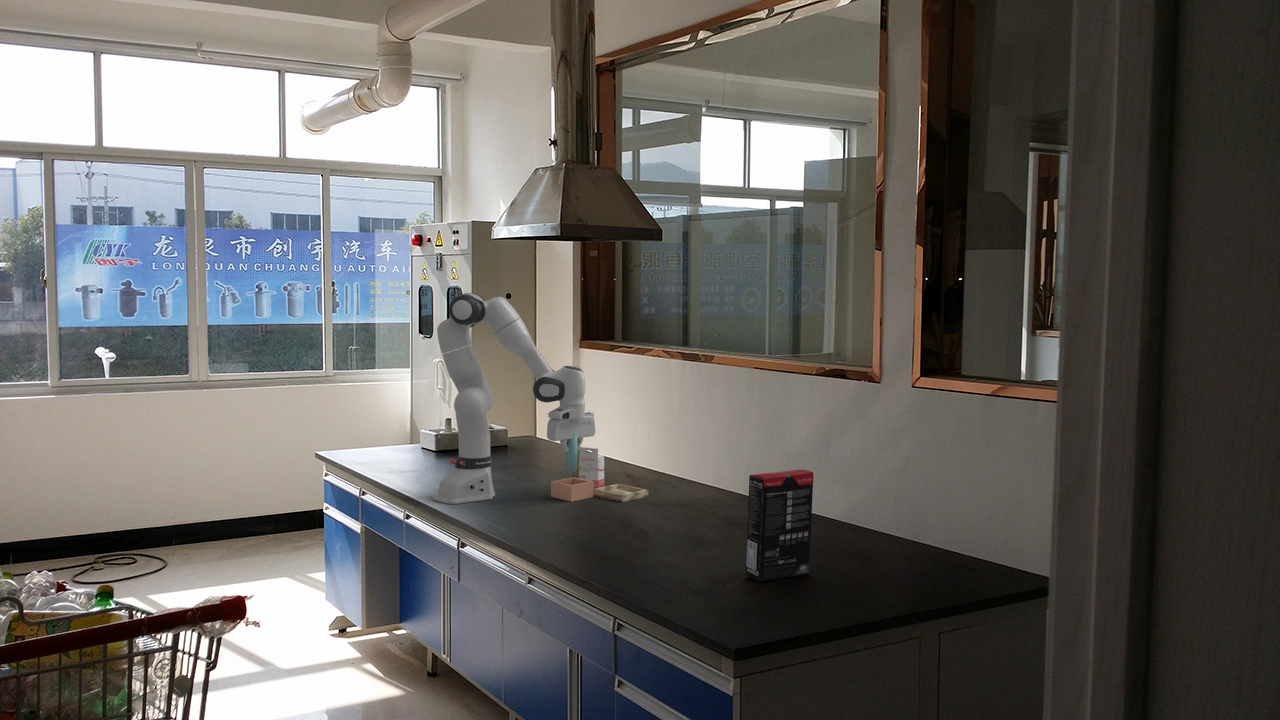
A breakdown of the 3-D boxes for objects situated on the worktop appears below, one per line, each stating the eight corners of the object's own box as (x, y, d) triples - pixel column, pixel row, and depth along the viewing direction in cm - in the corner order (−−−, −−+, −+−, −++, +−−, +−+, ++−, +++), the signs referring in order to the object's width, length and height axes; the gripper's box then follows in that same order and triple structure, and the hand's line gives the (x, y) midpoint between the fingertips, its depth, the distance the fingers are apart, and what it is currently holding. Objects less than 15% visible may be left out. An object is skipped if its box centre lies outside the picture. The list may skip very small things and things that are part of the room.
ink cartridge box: (604, 485, 370) (605, 446, 369) (598, 488, 365) (598, 448, 364) (585, 483, 374) (585, 445, 373) (578, 486, 369) (578, 446, 368)
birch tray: (622, 502, 342) (622, 495, 342) (592, 495, 353) (592, 488, 352) (648, 496, 352) (648, 489, 352) (618, 490, 362) (618, 483, 362)
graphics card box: (795, 567, 265) (796, 467, 263) (812, 574, 259) (814, 471, 257) (744, 577, 256) (746, 473, 254) (761, 584, 250) (763, 477, 248)
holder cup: (571, 501, 343) (571, 485, 343) (551, 496, 350) (551, 481, 350) (593, 496, 351) (593, 481, 350) (573, 492, 358) (573, 477, 357)
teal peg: (570, 472, 347) (571, 433, 346) (562, 471, 350) (563, 431, 349) (578, 471, 350) (579, 432, 349) (571, 469, 353) (572, 430, 351)
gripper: (587, 409, 358) (586, 447, 359) (544, 413, 343) (543, 452, 344) (599, 411, 353) (598, 449, 354) (556, 415, 339) (555, 455, 340)
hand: (571, 451), depth 349 cm, fingers closed on teal peg, 4 cm apart
